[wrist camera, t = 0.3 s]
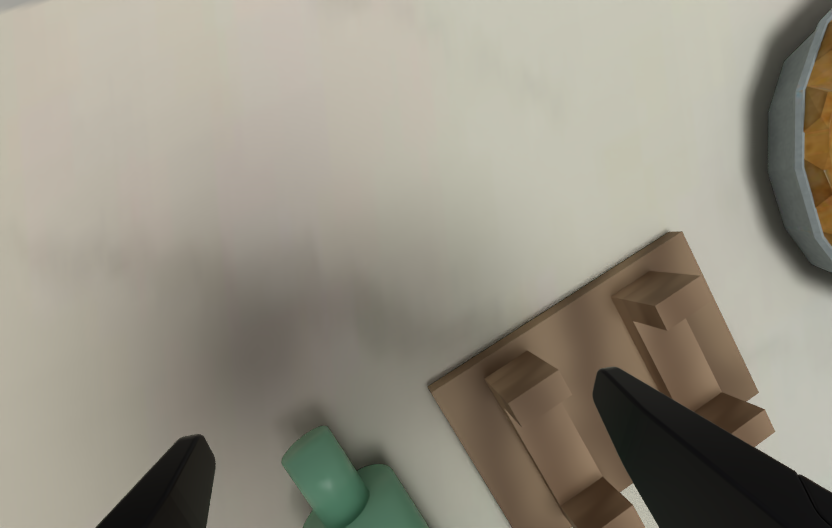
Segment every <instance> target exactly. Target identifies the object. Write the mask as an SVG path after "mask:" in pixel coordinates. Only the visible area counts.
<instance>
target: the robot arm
mask: <svg viewBox="0 0 832 528" xmlns="http://www.w3.org/2000/svg"><path fill="white" fill-rule="evenodd" d="M592 397H593V401H594V404H595V406H596V408H597V410H598V412H599V415H600V417H601V419H602V421H603V423H604V425H605V428H606V430H607V432H608V434H609V436H610V438H611V441H612V443H613V445H614V447H615V449H616V451H617V454H618V456H619V458H620V460H621V462H622V464H623V466H624V467H625V469H626V471H627V473H628V475H629V476H630V478H631V480H632V482H633V483H634V485H635V487H636V488H637V490H638V492H639V494H640V495H641V497H642V499H643V500H644V502H645V504H646V506H647V507H648V509H649V511H650V512H651V514H652V516H653V517H654V519H655V521H656V523H657V524H658V526H659V528H832V492H830V491H828V490H827V489H825V488H823V487H821V486H820V485H818V484H816V483H815V482H813V481H811V480H809V479H808V478H806V477H804V476H803V475H798V474H797V473H796V472H795V471H794V470H792V469H791V468H789V467H787V466H785V465H784V464H782V463H780V462H779V461H777V460H775V459H773V458H772V457H770V456H768V455H767V454H765V453H763V452H762V451H760V450H758V449H756V448H755V447H753V446H751V445H750V444H748V443H746V442H745V441H743V440H741V439H739V438H738V437H736V436H734V435H733V434H731V433H729V432H728V431H726V430H724V429H722V428H721V427H719V426H717V425H716V424H714V423H712V422H711V421H709V420H707V419H705V418H704V417H702V416H700V415H699V414H697V413H695V412H694V411H692V410H690V409H688V408H687V407H685V406H683V405H682V404H680V403H678V402H676V401H675V400H673V399H671V398H670V397H668V396H666V395H665V394H663V393H661V392H659V391H658V390H656V389H654V388H653V387H651V386H649V385H648V384H646V383H644V382H642V381H641V380H639V379H637V378H636V377H634V376H632V375H631V374H629V373H627V372H625V371H624V370H622V369H620V368H618V367H615V366H613V367H606V368H601V369H599V370H598V371H597V374H596V378H595V383H594V387H593V392H592ZM215 465H216V463H215V457H214V455H213V453H212V451H211V449H210V447H209V445H208V443H207V441H206V439H205V438H204V436H203V435H201V434H196V435H190V436H185V437H182V438H180V439H179V440H177V441H176V442H175V443H174V445H173V446H172V447H171V448H170V449H169V450H168V451H167V452H166V453H165V454H164V455H163V456H162V457H161V458H160V459H159V460H158V462H157V463H156V464H155V465H154V466H153V467H152V468H151V469H150V470H149V471H148V472H147V473H146V474H145V475H144V476H143V478H142V479H141V480H140V481H139V482H138V483H137V484H136V485H135V486H134V487H133V488H132V489H131V490H130V491H129V492H128V493H127V495H126V496H125V497H124V498H123V499H122V500H121V501H120V502H119V503H118V504H117V505H116V506H115V507H114V508H113V509H112V510H111V512H110V513H109V514H108V515H107V516H106V517H105V518H104V519H103V520H102V521H101V522H100V523H99V524H98V525H97V526H96V528H206V525H207V518H208V512H209V506H210V499H211V493H212V486H213V480H214V474H215Z"/></svg>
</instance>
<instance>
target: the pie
mask: <svg viewBox="0 0 832 528" xmlns="http://www.w3.org/2000/svg"><path fill="white" fill-rule="evenodd" d="M768 175H769V178H770V181H771V185H772V188H773V191H774V194H775V198H776V201H777V204H778V208H779V211H780V214H781V217H782V221H783V224H784V227H785V229H786V230H787V232H788V233H789V234H790V236H791V237H792V238H793V240H794V241H795V243H796V244H797V245H798V247H799V248H800V249H801V251H802V252H803V254H804V255H805V256H806V258H807V259H808V260H809V262H810V263H811V264H812V265H814V266H817V267H819V268H821V269H824V270H826V271H829V272H831V273H832V9H831V10H830V11H829V12H828V13H827V14H826V15H825V16H824V17H823V18H822V19H821V20H820V21H819V23H818V25H817V27H816V30H815V31H814V32H813V33H812V34H811V35H810V36H809V37H808V38H807V39H806V40H805V41H804V42H803V43H802V44H801V45H800V46H799V47H798V48H797V49H796V50H795V51H794V52H793V53H792V54H791V55H790V56H789V57H788V58H787V59H786V60H785V61H784V64H783V67H782V70H781V73H780V76H779V79H778V83H777V86H776V89H775V92H774V95H773V99H772V102H771V105H770V108H769V111H768Z"/></svg>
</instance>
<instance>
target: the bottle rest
mask: <svg viewBox="0 0 832 528" xmlns="http://www.w3.org/2000/svg"><path fill="white" fill-rule="evenodd" d="M613 366H615V367H618V368H620V369H622V370H624V371H625V372H627V373H629V374H631V375H632V376H634V377H636V378H637V379H639V380H641V381H642V382H644V383H646V384H648V385H649V386H651V387H653V388H654V389H656V390H658V391H659V392H661V393H663V394H665V395H666V396H668V397H670V398H671V399H673V400H675V401H676V402H678V403H680V404H682V405H683V406H685V407H687V408H688V409H690V410H692V411H694V412H695V413H697V414H699V415H700V416H702V417H704V418H705V419H707V420H709V421H711V422H712V423H714V424H716V425H717V426H719V427H721V428H722V429H724V430H726V431H728V432H729V433H731V434H733V435H734V436H736V437H738V438H739V439H741V440H743V441H745V442H746V443H748V444H750V445H751V446H753V447H755V446H757V445H758V444H759V443H761V442H762V441H763V440H765V439H766V438H767V437H769V436H770V435H771V434H773V433H774V432H775V430H774V428H773V426H772V424H771V422H770V420H769V417H768V415H767V413H766V411H765V409H762V408H760V407H757V406H755V405H753V404H750V403H748V402H746V401H748V400H749V399H751V398H752V397H753V396H755V395H756V394H757V393H759V392H758V390H757V388H756V386H755V383H754V381H753V379H752V377H751V375H750V373H749V371H748V369H747V367H746V365H745V362H744V360H743V358H742V356H741V354H740V352H739V350H738V348H737V346H736V344H735V341H734V339H733V337H732V335H731V333H730V331H729V329H728V327H727V325H726V323H725V321H724V318H723V316H722V314H721V312H720V310H719V308H718V306H717V304H716V302H715V300H714V297H713V295H712V293H711V291H710V289H709V287H708V285H707V283H706V281H705V279H704V276H703V274H702V272H701V270H700V268H699V266H698V264H697V262H696V260H695V258H694V255H693V253H692V251H691V249H690V247H689V245H688V243H687V241H686V239H685V237H684V234H683V232H668V233H667V234H665V235H664V236H662V237H660V238H659V239H657V240H656V241H654V242H653V243H651V244H649V245H648V246H646V247H645V248H643V249H642V250H640V251H639V252H637V253H635V254H634V255H632V256H631V257H629V258H628V259H626V260H624V261H623V262H621V263H620V264H618V265H617V266H615V267H614V268H612V269H610V270H609V271H607V272H606V273H604V274H603V275H601V276H600V277H598V278H596V279H595V280H593V281H592V282H590V283H589V284H587V285H585V286H584V287H582V288H581V289H579V290H578V291H576V292H575V293H573V294H571V295H570V296H568V297H567V298H565V299H564V300H562V301H560V302H559V303H557V304H556V305H554V306H553V307H551V308H550V309H548V310H546V311H545V312H543V313H542V314H540V315H539V316H537V317H536V318H534V319H532V320H531V321H529V322H528V323H526V324H525V325H523V326H521V327H520V328H518V329H517V330H515V331H514V332H512V333H511V334H509V335H507V336H506V337H504V338H503V339H501V340H500V341H498V342H496V343H495V344H493V345H492V346H490V347H489V348H487V349H486V350H484V351H482V352H481V353H479V354H478V355H476V356H475V357H473V358H472V359H470V360H468V361H467V362H465V363H464V364H462V365H461V366H459V367H457V368H456V369H454V370H453V371H451V372H450V373H448V374H447V375H445V376H443V377H442V378H440V379H439V380H437V381H436V382H434V383H432V384H431V385H429V386H428V388H429V390H430V392H431V394H432V395H433V397H434V399H435V400H436V402H437V404H438V405H439V407H440V408H441V410H442V412H443V413H444V415H445V417H446V418H447V420H448V422H449V423H450V425H451V427H452V428H453V430H454V432H455V433H456V435H457V437H458V438H459V440H460V442H461V443H462V445H463V447H464V448H465V450H466V452H467V453H468V455H469V456H470V458H471V460H472V461H473V463H474V465H475V466H476V468H477V470H478V471H479V473H480V475H481V476H482V478H483V480H484V481H485V483H486V485H487V486H488V488H489V490H490V491H491V493H492V495H493V496H494V498H495V499H496V501H497V503H498V504H499V506H500V508H501V509H502V511H503V513H504V514H505V516H506V518H507V519H508V521H509V523H510V524H511V526H512V528H571V527H573V528H645V526H644V524H643V522H642V521H641V519H640V517H639V515H638V513H637V511H636V510H635V508H634V506H633V505H632V504H631V503H630V502H629V501H628V500H627V499H626V498H625V497H624V496H623V495H622V494H621V493H620V492H621V491H622V490H624V489H625V488H627V487H628V486H629V485H631V484H632V483H633V482H632V480H631V478H630V476H629V475H628V473H627V471H626V469H625V467H624V466H623V464H622V462H621V460H620V458H619V456H618V454H617V451H616V449H615V447H614V445H613V443H612V441H611V438H610V436H609V434H608V432H607V430H606V428H605V425H604V423H603V421H602V419H601V417H600V415H599V412H598V410H597V408H596V406H595V404H594V401H593V397H592V392H593V387H594V383H595V378H596V374H597V371H598V370H599V369H601V368H606V367H613Z"/></svg>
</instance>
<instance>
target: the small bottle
mask: <svg viewBox="0 0 832 528" xmlns="http://www.w3.org/2000/svg"><path fill="white" fill-rule="evenodd" d="M281 463H282V465H283V466H284V468H285V469H286V471H287V472H288V474H289V475H290V477H291V478H292V480H293V481H294V483H295V484H296V485H297V487H298V488H299V490H300V491H301V493H302V494H303V496H304V497H305V499H306V500H307V502H308V503H309V505H310V506H311V507H312V509H313V510H312V512H311V513H310V515H309V516H308V518H307V520H306V522H305V524H304V526H303V528H429V527H428V525H427V523H426V522H425V520H424V519H423V517H422V516H421V514H420V513H419V511H418V509H417V508H416V506H415V505H414V503H413V502H412V500H411V498H410V497H409V495H408V494H407V492H406V491H405V489H404V487H403V486H402V484H401V483H400V481H399V480H398V478H397V477H396V475H395V473H394V472H393V470H392V469H391V468H390V467H389V466H387V465H384V464H374V465H369V466H366V467H363V468H361V469H359V470H358V471H356V469H355V468H354V466H353V465H352V463H351V462H350V460H349V459H348V457H347V456H346V454H345V453H344V451H343V450H342V448H341V446H340V445H339V443H338V442H337V440H336V439H335V437H334V436H333V434H332V433H331V431H330V430H329V428H328V427H327V426H320V427H317V428H315V429H313V430H311V431H309V432H308V433H306V434H305V435H303V436H302V437H301V438H300V439H298V440H297V441H296V442H295V443H294V444H293V445H292V446H291V447H290V448H289V449H288V450H287V452H286V453H285V454H284V456H283V458H282V462H281Z"/></svg>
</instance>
